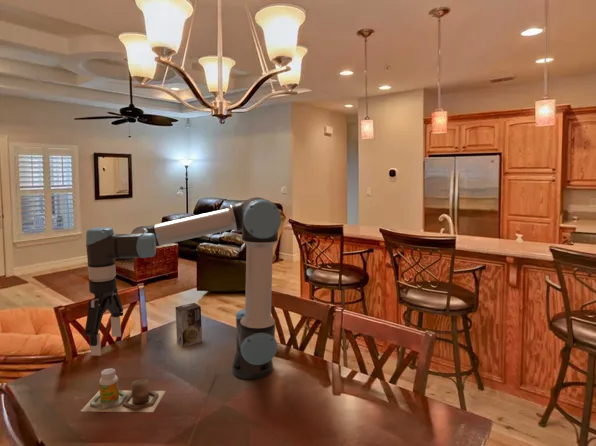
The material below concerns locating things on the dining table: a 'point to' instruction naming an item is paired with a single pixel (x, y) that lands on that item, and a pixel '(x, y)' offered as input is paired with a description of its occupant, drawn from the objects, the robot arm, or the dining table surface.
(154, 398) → the board
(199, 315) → the coffee box
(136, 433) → the dining table surface
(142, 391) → the walnut dowel stub
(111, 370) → the supplement bottle
